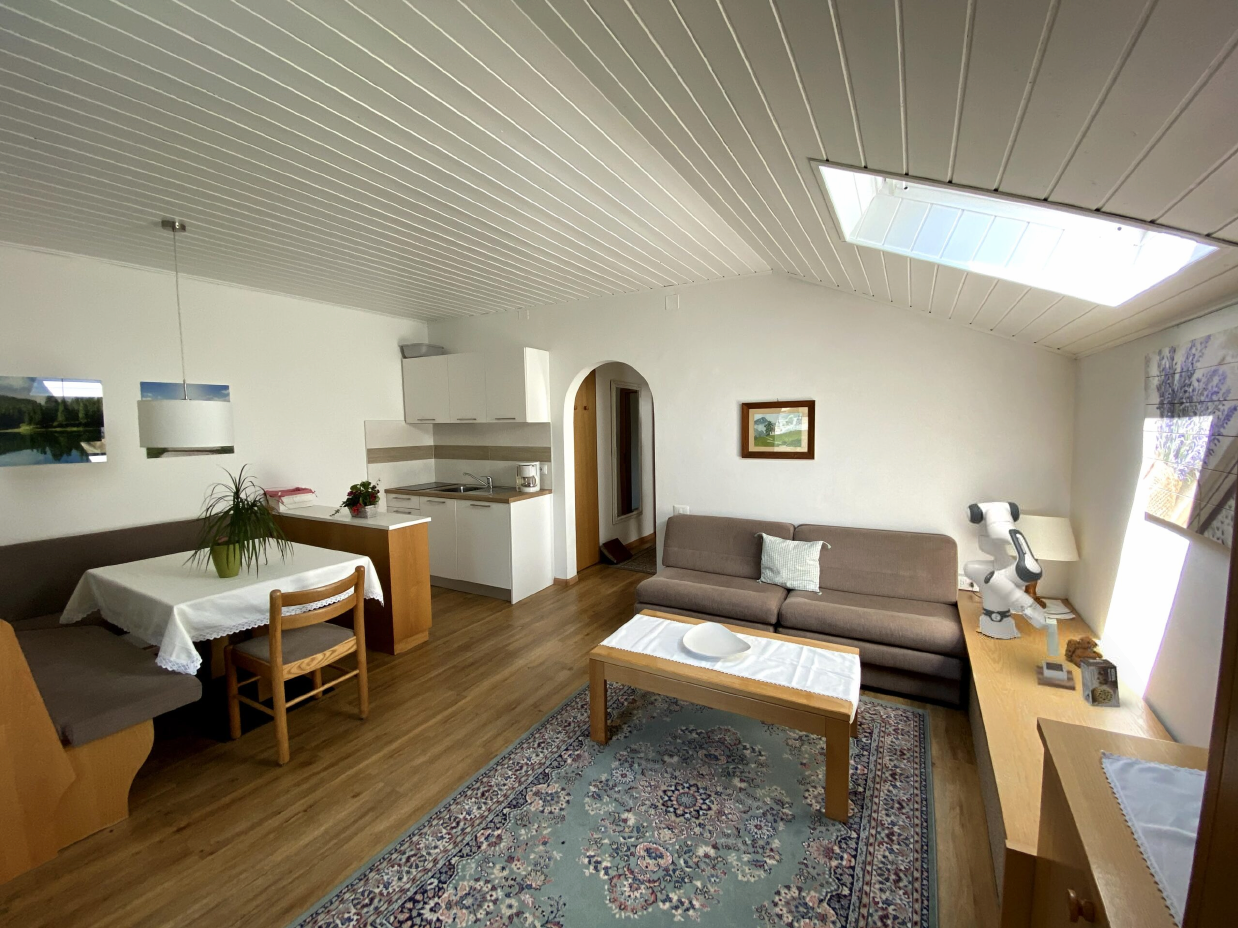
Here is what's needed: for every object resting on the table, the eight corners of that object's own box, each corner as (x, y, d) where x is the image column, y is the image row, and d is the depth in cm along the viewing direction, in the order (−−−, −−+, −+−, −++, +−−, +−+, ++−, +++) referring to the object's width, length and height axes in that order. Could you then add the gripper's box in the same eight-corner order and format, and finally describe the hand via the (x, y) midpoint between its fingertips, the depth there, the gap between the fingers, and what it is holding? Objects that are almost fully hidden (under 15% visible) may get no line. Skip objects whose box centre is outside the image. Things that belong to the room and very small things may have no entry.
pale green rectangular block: (1047, 649, 226) (1045, 618, 225) (1058, 651, 224) (1056, 619, 223) (1048, 655, 221) (1046, 622, 221) (1059, 656, 219) (1056, 623, 218)
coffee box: (1109, 698, 205) (1107, 658, 204) (1120, 707, 199) (1117, 665, 198) (1081, 697, 208) (1079, 658, 207) (1091, 706, 201) (1089, 665, 201)
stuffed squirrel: (1091, 672, 225) (1089, 642, 225) (1056, 659, 239) (1054, 631, 239) (1108, 667, 228) (1106, 638, 227) (1073, 655, 241) (1071, 627, 241)
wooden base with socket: (1036, 668, 233) (1035, 656, 233) (1072, 673, 226) (1071, 661, 225) (1037, 684, 220) (1037, 671, 220) (1075, 690, 213) (1074, 677, 213)
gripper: (1028, 606, 218) (1060, 632, 212) (1027, 592, 234) (1057, 615, 228) (1015, 615, 221) (1046, 641, 215) (1015, 600, 237) (1044, 624, 231)
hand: (1052, 628), depth 222 cm, fingers closed on pale green rectangular block, 6 cm apart
